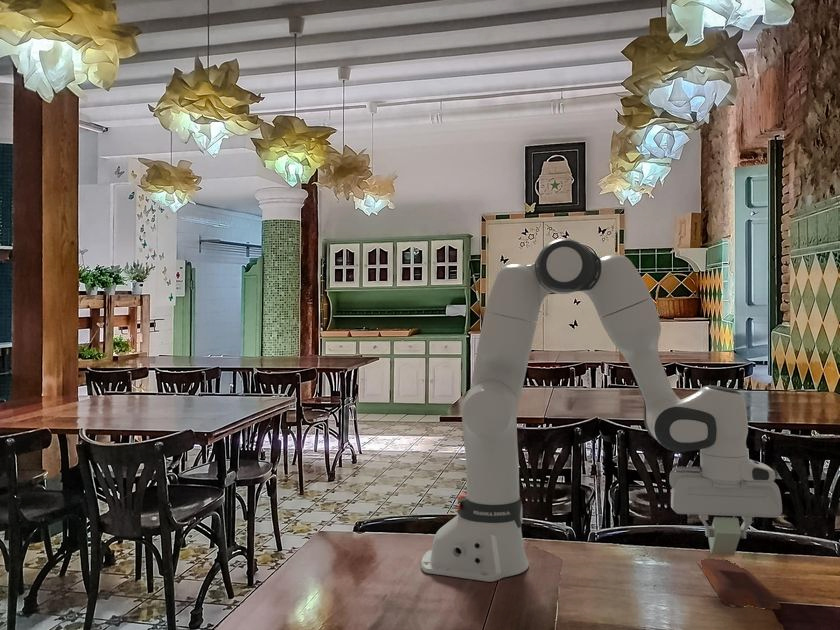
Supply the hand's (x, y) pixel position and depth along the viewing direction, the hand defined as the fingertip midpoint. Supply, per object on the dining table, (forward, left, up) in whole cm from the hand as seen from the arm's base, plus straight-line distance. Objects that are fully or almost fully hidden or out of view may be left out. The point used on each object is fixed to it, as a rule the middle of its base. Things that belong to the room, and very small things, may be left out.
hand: (725, 537), depth 137 cm
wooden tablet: (+1, -2, -8) cm, 9 cm away
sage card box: (0, +4, -3) cm, 6 cm away
